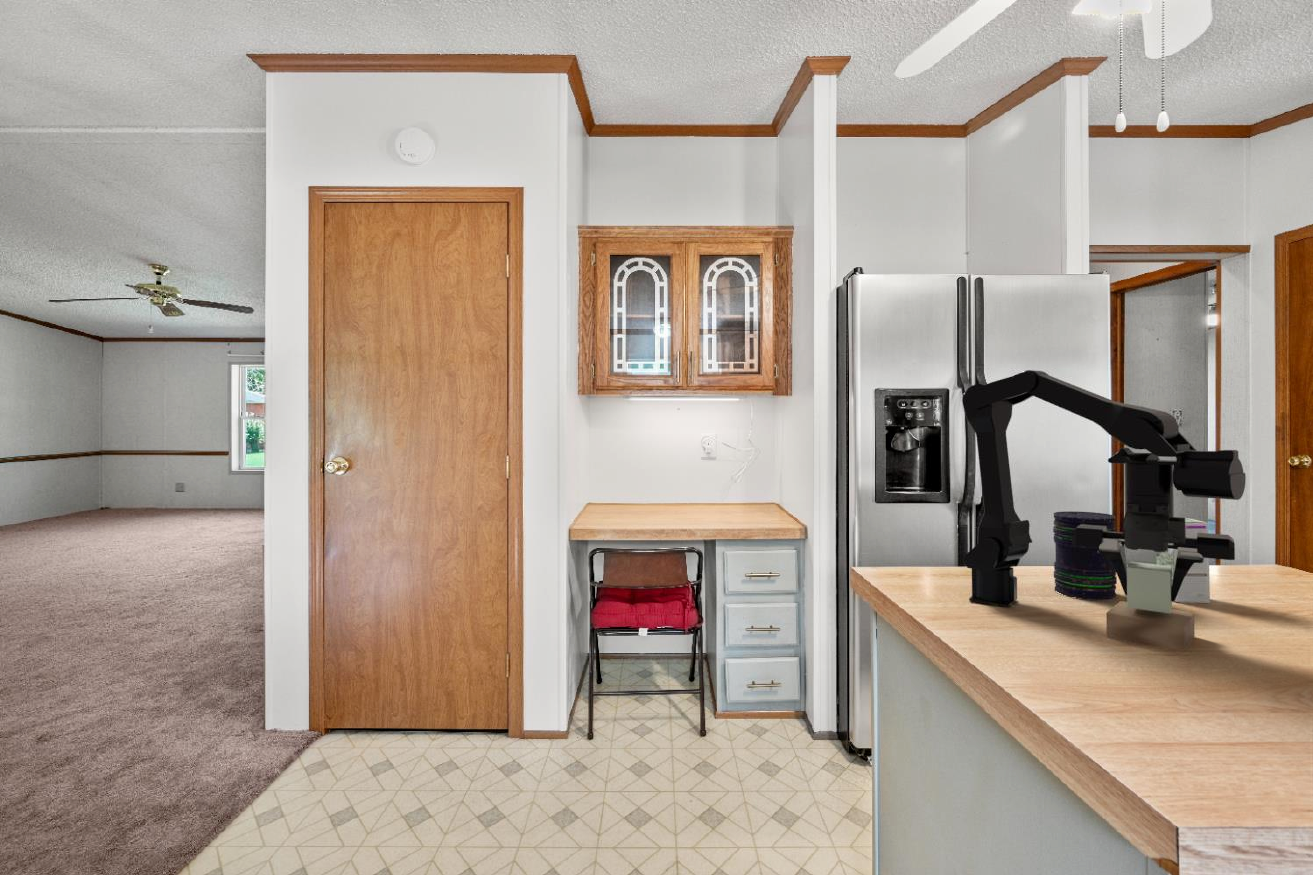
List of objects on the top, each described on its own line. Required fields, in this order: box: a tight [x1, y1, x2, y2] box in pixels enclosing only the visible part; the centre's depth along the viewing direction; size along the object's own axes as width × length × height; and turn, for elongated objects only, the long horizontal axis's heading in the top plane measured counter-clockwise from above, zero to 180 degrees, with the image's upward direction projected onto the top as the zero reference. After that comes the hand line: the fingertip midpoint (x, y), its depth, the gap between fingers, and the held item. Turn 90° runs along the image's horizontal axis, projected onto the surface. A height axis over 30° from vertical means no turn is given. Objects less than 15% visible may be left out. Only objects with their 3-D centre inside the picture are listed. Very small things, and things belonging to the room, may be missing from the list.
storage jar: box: [1052, 511, 1118, 601], centre depth 118 cm, size 10×10×15 cm
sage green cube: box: [1126, 561, 1173, 613], centre depth 93 cm, size 5×5×6 cm
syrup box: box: [1155, 517, 1211, 604], centre depth 113 cm, size 6×6×14 cm
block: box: [1105, 600, 1196, 653], centre depth 93 cm, size 9×9×4 cm
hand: (1149, 598), depth 93 cm, fingers closed on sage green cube, 5 cm apart
